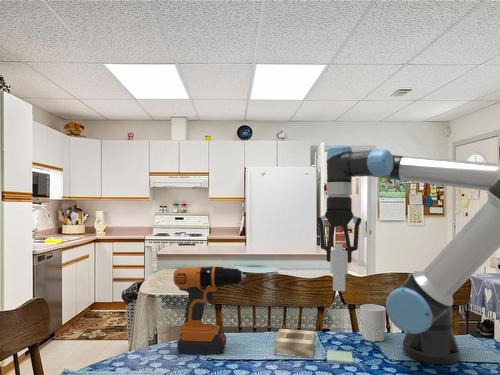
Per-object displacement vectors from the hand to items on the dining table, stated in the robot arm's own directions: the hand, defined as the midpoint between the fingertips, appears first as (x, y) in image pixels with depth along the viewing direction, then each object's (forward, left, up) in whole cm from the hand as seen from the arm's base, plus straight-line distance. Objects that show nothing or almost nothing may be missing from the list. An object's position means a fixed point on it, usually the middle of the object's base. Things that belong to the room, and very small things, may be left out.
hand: (339, 272), depth 116 cm
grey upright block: (0, 0, -5) cm, 5 cm away
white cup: (-11, -11, -23) cm, 28 cm away
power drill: (+38, +10, -23) cm, 46 cm away
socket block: (+13, +4, -23) cm, 27 cm away
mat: (0, +7, -23) cm, 24 cm away
